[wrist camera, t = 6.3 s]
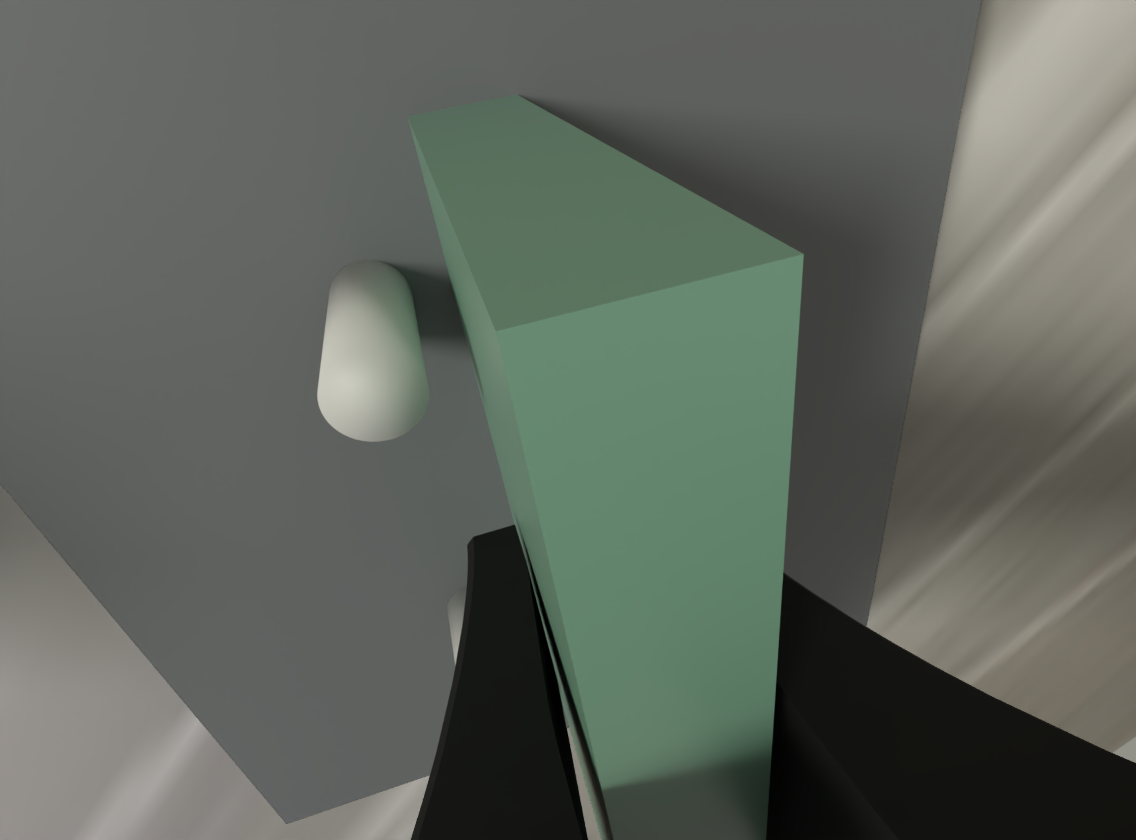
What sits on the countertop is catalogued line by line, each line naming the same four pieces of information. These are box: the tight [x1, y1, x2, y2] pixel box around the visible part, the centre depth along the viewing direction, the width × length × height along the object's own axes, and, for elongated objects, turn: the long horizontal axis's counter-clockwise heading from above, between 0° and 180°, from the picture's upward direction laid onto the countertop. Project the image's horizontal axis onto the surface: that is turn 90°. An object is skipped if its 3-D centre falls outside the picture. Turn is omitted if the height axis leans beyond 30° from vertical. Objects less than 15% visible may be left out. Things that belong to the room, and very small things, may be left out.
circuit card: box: [407, 94, 804, 840], centre depth 9 cm, size 12×2×7 cm, turn 9°
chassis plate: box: [0, 0, 981, 824], centre depth 11 cm, size 18×16×4 cm
